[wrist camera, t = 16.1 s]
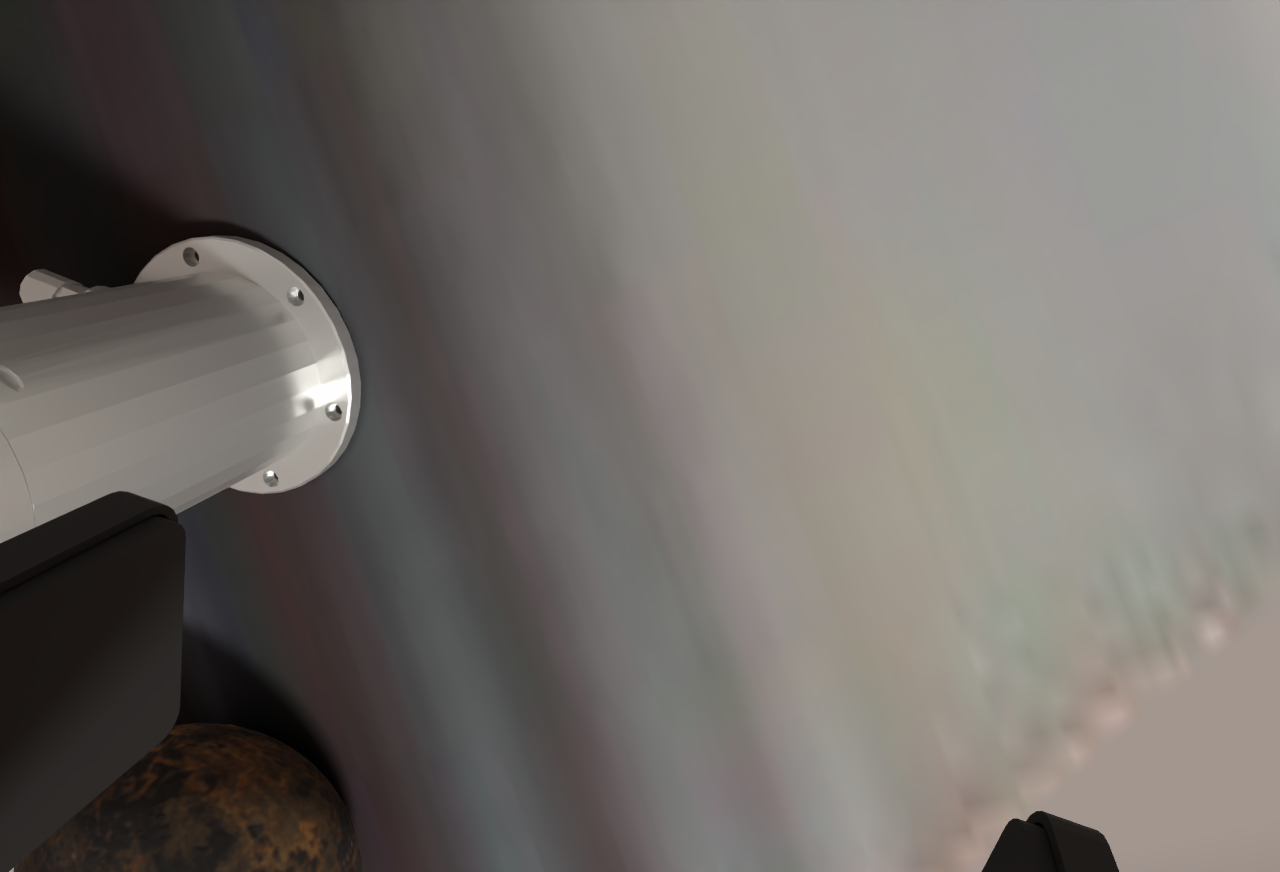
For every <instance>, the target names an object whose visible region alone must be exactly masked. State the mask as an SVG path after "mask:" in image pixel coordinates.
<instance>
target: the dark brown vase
mask: <svg viewBox="0 0 1280 872" xmlns="http://www.w3.org/2000/svg"><path fill="white" fill-rule="evenodd" d="M14 872H362V860H361V856H360V852H359V846H358V842H357V837H356V833H355V830H354V827H353V824H352V821H351V819H350V816H349V814H348V811H347V809H346V807H345V805H344V803H343V801H342V799H341V798H340V796H339V794H338V793H337V792H336V790H335V789H334V787H333V786H332V784H331V783H330V782H329V781H328V779H327V778H326V777H325V776H324V775H323V774H322V773H321V772H320V771H319V770H318V769H317V768H316V767H315V766H314V765H313V764H312V763H311V762H310V761H309V760H308V759H306V758H305V757H304V756H302V755H301V754H300V753H298V752H297V751H295V750H294V749H292V748H291V747H289V746H287V745H286V744H284V743H282V742H281V741H278V740H276V739H274V738H272V737H270V736H267V735H265V734H263V733H261V732H258V731H254V730H252V729H248V728H244V727H241V726H234V725H232V724H219V723H189V724H181V725H174V726H173V728H172V729H171V731H170V732H169V734H168V735H167V736H166V737H165V738H164V739H163V740H162V741H161V742H160V743H159V744H158V745H157V746H156V747H154V748H153V749H152V750H151V751H150V752H149V753H147V754H146V755H145V756H144V757H143V758H142V759H140V760H139V761H138V762H137V763H136V764H134V765H133V766H132V767H131V768H130V769H129V770H127V771H126V772H125V773H124V774H123V775H122V776H120V777H119V778H118V779H117V780H116V781H115V782H113V783H112V784H111V785H110V786H109V787H107V788H106V789H105V790H104V791H103V792H102V793H100V794H99V795H98V796H97V797H96V798H95V799H93V800H92V801H91V802H90V803H89V804H88V805H86V806H85V807H84V808H83V809H82V810H80V811H79V812H78V813H77V814H76V815H75V816H73V817H72V818H71V819H70V820H69V821H68V822H66V823H65V824H64V825H63V826H62V827H60V828H59V829H58V830H57V831H56V832H55V833H53V834H52V835H51V836H50V837H49V838H48V839H46V840H45V841H44V842H43V843H42V844H41V845H39V846H38V847H37V848H36V849H35V850H33V851H32V852H31V853H30V854H29V855H28V856H26V857H25V858H24V859H23V860H22V861H21V862H19V863H18V864H17V865H16V866H15V867H14Z"/></svg>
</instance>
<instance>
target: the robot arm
mask: <svg viewBox="0 0 1280 872" xmlns="http://www.w3.org/2000/svg"><path fill="white" fill-rule="evenodd" d="M20 296H21V299H22V302H23V303H22V304H16V305H10V306H5V307H0V872H9V871H10V870H11V869H12V868H13V867H15V866H16V865H17V864H18V863H19V862H21V861H22V860H23V859H24V858H25V857H26V856H28V855H29V854H30V853H31V852H32V851H33V850H35V849H36V848H37V847H38V846H39V845H41V844H42V843H43V842H44V841H45V840H46V839H48V838H49V837H50V836H51V835H52V834H53V833H55V832H56V831H57V830H58V829H59V828H60V827H62V826H63V825H64V824H65V823H66V822H68V821H69V820H70V819H71V818H72V817H73V816H75V815H76V814H77V813H78V812H79V811H80V810H82V809H83V808H84V807H85V806H86V805H88V804H89V803H90V802H91V801H92V800H93V799H95V798H96V797H97V796H98V795H99V794H100V793H102V792H103V791H104V790H105V789H106V788H107V787H109V786H110V785H111V784H112V783H113V782H115V781H116V780H117V779H118V778H119V777H120V776H122V775H123V774H124V773H125V772H126V771H127V770H129V769H130V768H131V767H132V766H133V765H134V764H136V763H137V762H138V761H139V760H140V759H142V758H143V757H144V756H145V755H146V754H147V753H149V752H150V751H151V750H152V749H153V748H154V747H156V746H157V745H158V744H159V743H160V742H161V741H162V740H163V739H164V738H165V737H166V736H167V735H168V734H169V732H170V731H171V729H172V728H173V726H174V724H175V722H176V720H177V717H178V715H179V710H180V693H181V663H182V633H183V603H184V573H185V543H186V536H185V530H184V528H183V526H182V525H180V524H179V523H178V518H177V515H176V514H178V513H180V512H182V511H184V510H186V509H188V508H190V507H192V506H193V505H195V504H197V503H199V502H201V501H203V500H205V499H207V498H209V497H211V496H213V495H215V494H216V493H218V492H220V491H222V490H224V489H226V488H228V487H230V488H233V489H236V490H239V491H243V492H251V493H259V494H267V493H279V492H284V491H288V490H291V489H294V488H297V487H300V486H302V485H304V484H306V483H307V482H309V481H311V480H313V479H314V478H316V477H318V476H320V475H321V474H322V473H323V472H325V471H326V470H327V469H328V468H330V467H331V466H332V465H333V464H334V463H335V462H336V461H337V460H338V458H339V457H340V456H341V454H342V453H343V452H344V451H345V449H346V448H347V446H348V444H349V441H350V439H351V437H352V435H353V433H354V431H355V428H356V423H357V419H358V415H359V410H360V398H361V380H360V373H359V366H358V359H357V356H356V352H355V349H354V346H353V343H352V340H351V337H350V334H349V331H348V329H347V327H346V325H345V323H344V321H343V319H342V317H341V315H340V313H339V311H338V309H337V308H336V307H335V305H334V304H333V302H332V301H331V300H330V298H329V297H328V295H327V294H326V293H325V291H324V290H323V288H322V287H321V286H320V285H319V284H318V283H317V282H316V281H315V280H314V279H313V278H312V277H311V276H310V275H309V274H308V273H307V272H306V271H305V270H304V269H303V268H302V267H301V266H299V265H298V264H297V263H295V262H294V261H292V260H291V259H290V258H288V257H287V256H286V255H284V254H283V253H281V252H279V251H277V250H275V249H273V248H271V247H269V246H267V245H265V244H263V243H261V242H258V241H254V240H250V239H246V238H242V237H239V236H223V235H213V236H206V237H198V238H190V239H187V240H184V241H181V242H178V243H175V244H172V245H171V246H169V247H167V248H166V249H164V250H163V251H161V252H160V253H158V254H157V255H155V256H154V257H153V258H152V259H151V260H150V261H149V263H148V264H147V265H146V266H145V267H144V268H143V269H142V270H141V271H140V273H139V275H138V277H137V279H136V280H135V282H134V284H131V285H125V286H119V287H114V288H109V287H107V286H95V287H92V288H87V287H85V286H83V285H82V284H80V283H78V282H76V281H73V280H71V279H68V278H66V277H63V276H61V275H58V274H55V273H53V272H50V271H48V270H45V269H38V270H33V271H32V272H31V273H29V274H28V275H26V276H25V278H24V280H23V281H22V283H21V285H20ZM982 872H1119V870H1118V867H1117V865H1116V862H1115V859H1114V857H1113V854H1112V852H1111V849H1110V846H1109V844H1108V842H1107V840H1106V839H1105V837H1104V835H1103V834H1101V833H1100V832H1099V831H1097V830H1094V829H1092V828H1089V827H1086V826H1083V825H1080V824H1077V823H1074V822H1072V821H1069V820H1066V819H1063V818H1060V817H1057V816H1054V815H1052V814H1049V813H1046V812H1043V811H1036V812H1034V813H1033V814H1032V815H1030V817H1029V818H1028V819H1027V821H1023V820H1020V819H1012V820H1011V821H1009V822H1008V824H1007V825H1006V827H1005V829H1004V830H1003V832H1002V834H1001V836H1000V838H999V840H998V842H997V844H996V846H995V848H994V849H993V851H992V853H991V855H990V857H989V859H988V861H987V863H986V865H985V867H984V868H983V870H982Z"/></svg>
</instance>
